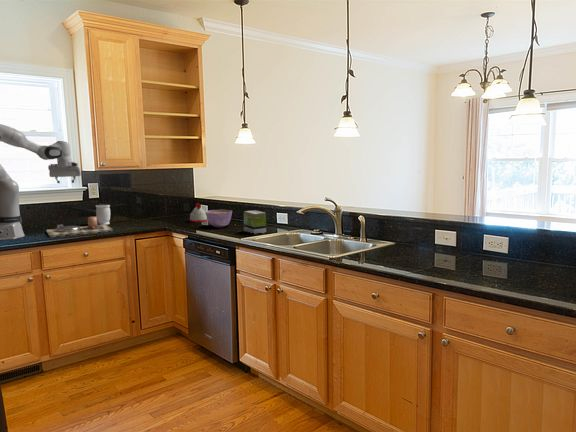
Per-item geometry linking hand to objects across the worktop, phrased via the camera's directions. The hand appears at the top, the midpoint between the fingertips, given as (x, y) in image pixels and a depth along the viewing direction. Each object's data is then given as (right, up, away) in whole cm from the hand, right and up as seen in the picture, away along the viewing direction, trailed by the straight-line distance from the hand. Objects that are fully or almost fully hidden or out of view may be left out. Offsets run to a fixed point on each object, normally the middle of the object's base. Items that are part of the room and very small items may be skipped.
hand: (65, 183), depth 318 cm
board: (+12, -35, -5) cm, 38 cm away
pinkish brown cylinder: (+20, -33, -1) cm, 39 cm away
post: (+6, -34, -8) cm, 36 cm away
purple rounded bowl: (+109, -32, +16) cm, 115 cm away
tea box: (+138, -36, -8) cm, 143 cm away
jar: (+16, -31, +27) cm, 44 cm away
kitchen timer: (+88, -28, +42) cm, 102 cm away
